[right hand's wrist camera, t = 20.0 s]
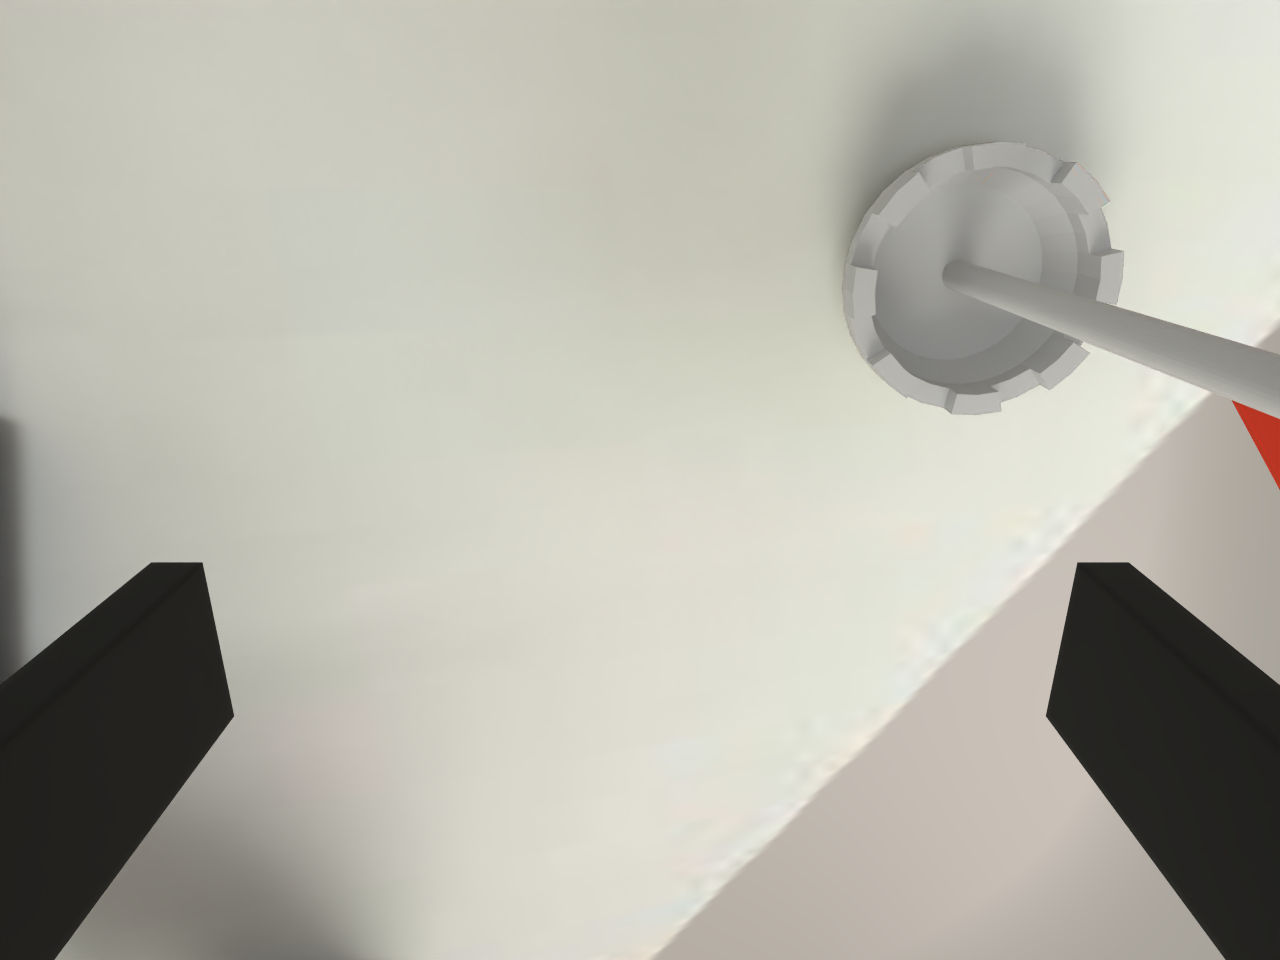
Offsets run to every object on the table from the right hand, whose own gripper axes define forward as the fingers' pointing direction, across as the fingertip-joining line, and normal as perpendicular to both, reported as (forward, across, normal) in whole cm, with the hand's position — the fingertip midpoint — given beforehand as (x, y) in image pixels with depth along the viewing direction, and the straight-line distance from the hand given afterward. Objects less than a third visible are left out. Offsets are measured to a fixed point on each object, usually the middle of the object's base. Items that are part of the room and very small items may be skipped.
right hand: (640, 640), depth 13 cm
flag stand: (+36, +17, +1) cm, 40 cm away
